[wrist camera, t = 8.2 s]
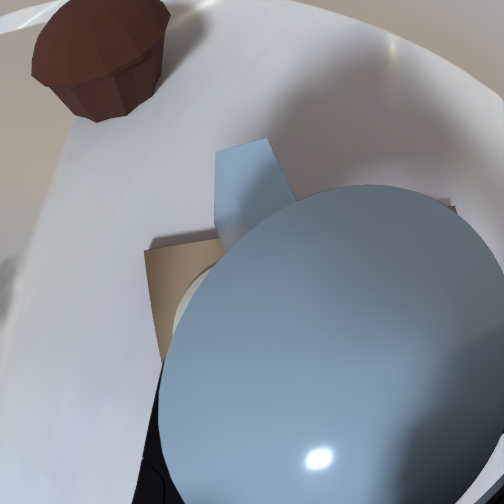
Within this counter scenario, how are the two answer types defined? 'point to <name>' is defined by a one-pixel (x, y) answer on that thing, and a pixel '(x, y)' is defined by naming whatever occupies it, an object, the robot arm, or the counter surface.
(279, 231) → the pale blue cylinder
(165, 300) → the tan flat slab
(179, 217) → the counter surface
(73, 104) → the muffin
